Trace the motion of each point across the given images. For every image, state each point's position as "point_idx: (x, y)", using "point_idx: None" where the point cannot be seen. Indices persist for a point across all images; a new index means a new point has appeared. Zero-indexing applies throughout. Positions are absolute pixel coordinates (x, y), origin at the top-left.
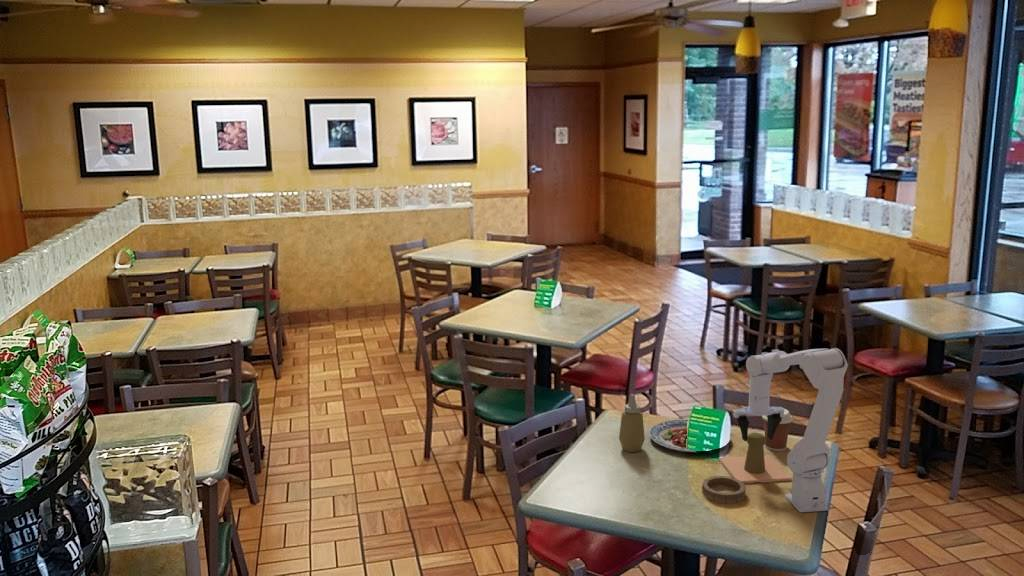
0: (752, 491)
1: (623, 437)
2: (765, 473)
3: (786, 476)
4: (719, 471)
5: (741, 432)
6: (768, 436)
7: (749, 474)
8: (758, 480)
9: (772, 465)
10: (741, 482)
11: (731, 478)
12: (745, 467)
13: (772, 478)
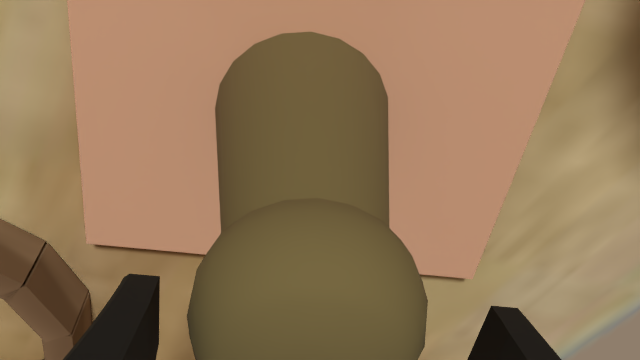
0: None
1: None
2: None
3: (454, 257)
4: (4, 18)
5: (87, 337)
6: (486, 342)
7: (217, 177)
8: None
9: (485, 93)
10: (66, 344)
11: (9, 291)
12: (216, 120)
13: None
